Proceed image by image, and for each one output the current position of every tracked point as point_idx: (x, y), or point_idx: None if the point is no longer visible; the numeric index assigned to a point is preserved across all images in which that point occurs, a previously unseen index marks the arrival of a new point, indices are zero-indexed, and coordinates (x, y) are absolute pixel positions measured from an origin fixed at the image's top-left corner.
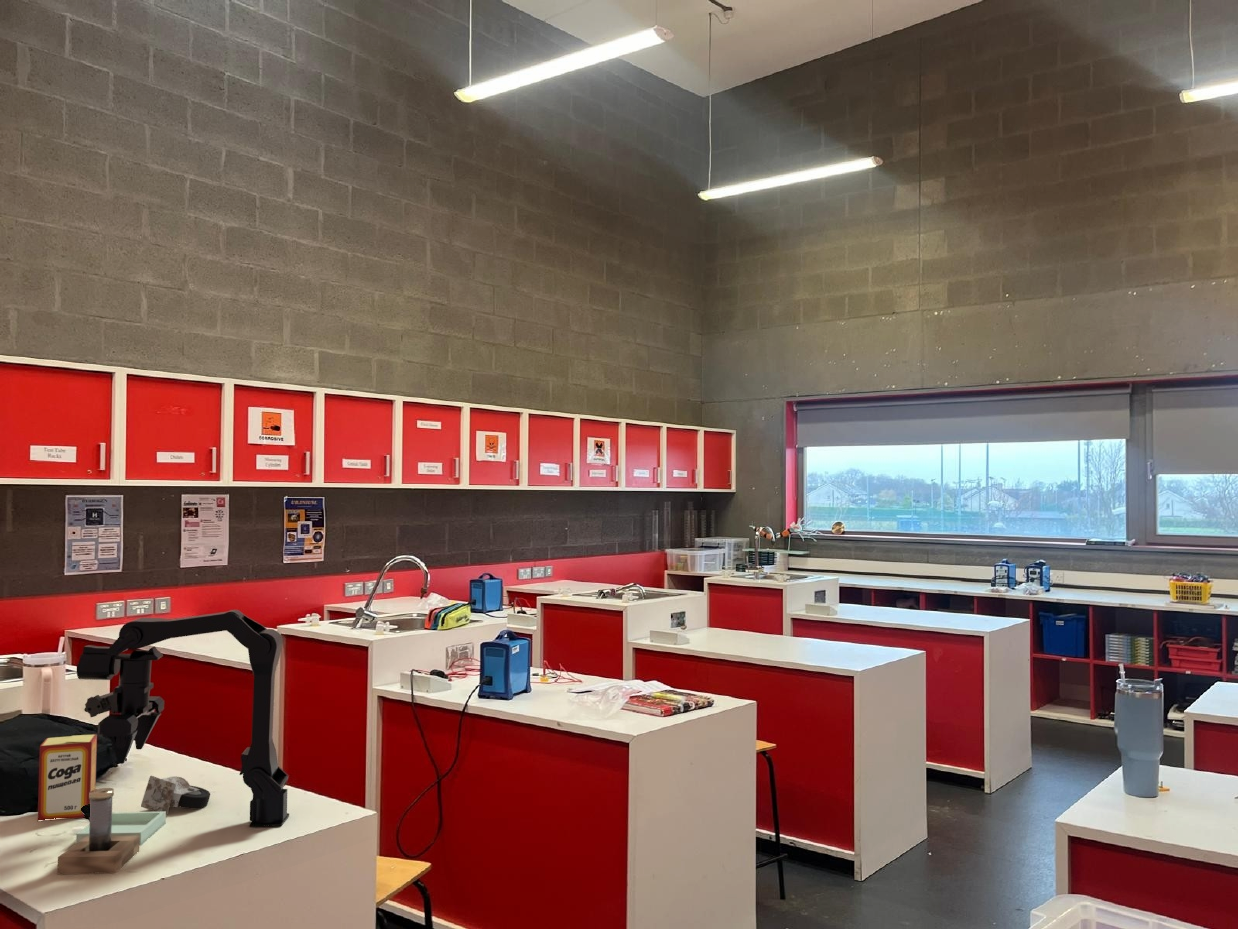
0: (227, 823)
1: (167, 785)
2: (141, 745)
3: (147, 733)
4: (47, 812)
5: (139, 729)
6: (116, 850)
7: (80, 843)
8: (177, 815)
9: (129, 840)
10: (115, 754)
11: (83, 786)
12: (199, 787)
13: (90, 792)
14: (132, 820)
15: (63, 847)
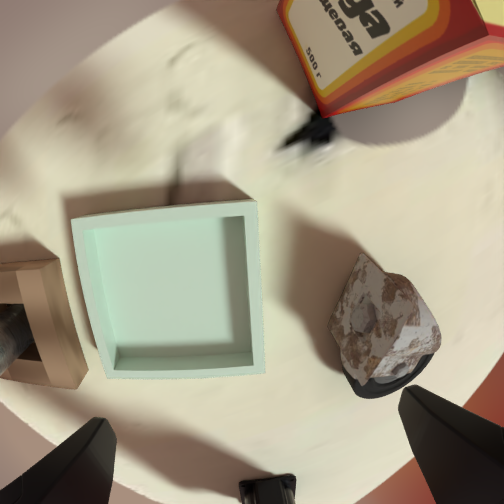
0: (262, 452)
1: (371, 358)
2: (408, 426)
3: (436, 498)
4: (289, 16)
5: (474, 487)
6: (8, 371)
7: (9, 282)
8: (322, 351)
9: (49, 379)
10: (51, 453)
11: (352, 73)
12: (430, 358)
13: None
14: (247, 286)
15: (83, 182)
